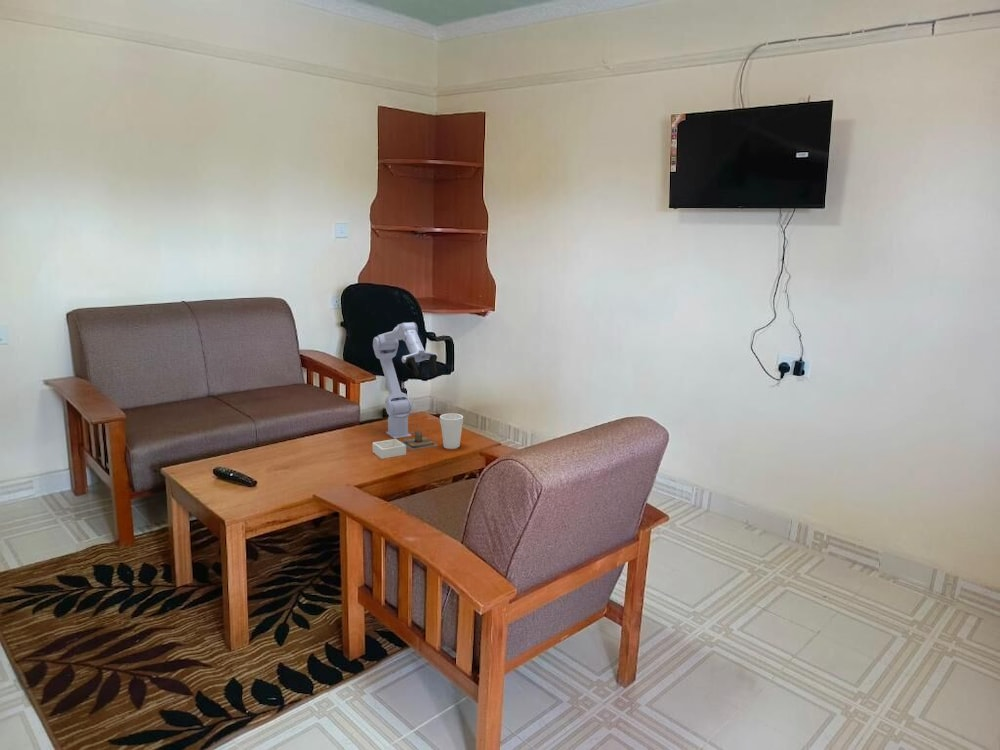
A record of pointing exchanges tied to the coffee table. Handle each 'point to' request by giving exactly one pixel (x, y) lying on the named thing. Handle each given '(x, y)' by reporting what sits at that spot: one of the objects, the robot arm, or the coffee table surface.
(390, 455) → the white open box
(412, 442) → the lid
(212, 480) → the coffee table surface
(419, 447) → the mat
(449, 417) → the foam cup
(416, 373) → the robot arm
